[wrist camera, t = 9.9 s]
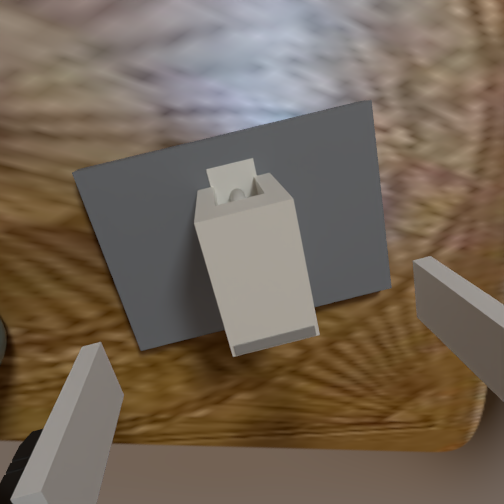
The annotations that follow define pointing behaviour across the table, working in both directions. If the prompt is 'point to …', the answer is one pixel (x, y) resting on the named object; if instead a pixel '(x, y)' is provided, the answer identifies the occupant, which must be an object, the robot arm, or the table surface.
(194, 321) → the board
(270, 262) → the housing
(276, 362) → the table surface
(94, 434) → the robot arm
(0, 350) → the cup
